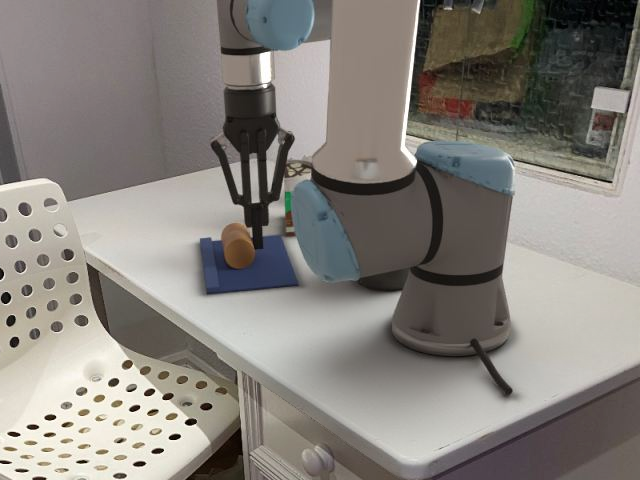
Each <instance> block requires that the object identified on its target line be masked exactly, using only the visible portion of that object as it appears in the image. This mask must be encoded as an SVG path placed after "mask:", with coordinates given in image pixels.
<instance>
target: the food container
mask: <svg viewBox="0 0 640 480" xmlns="http://www.w3.org/2000/svg"><path fill="white" fill-rule="evenodd" d="M311 164H312V162H309V161H305V160H301V159H295V158H292V159H290V158H287V162H286V168H285V173H284V178H283V193H284V220H285V223H284V224H285V237H294V236H295V237H296V234H295V230H294V226H293V221H292V213H291V197H292V192H293V191H294V187H295V186H296V185H297V184H298V183H300V182H302V180H307V179H308V180H310V179H311Z"/></svg>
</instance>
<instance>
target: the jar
mask: <svg viewBox="0 0 640 480" xmlns="http://www.w3.org/2000/svg"><path fill="white" fill-rule="evenodd" d="M408 275H409V268H405V269H400V270H395V271H390V272H386V273H381V274H376V275H371V276H366V277H362V278H359V280H358V281H359V283H360V284H361V285H362V286H364V287H366V288H368V289H372V290H374V291H375V290H376V291H385V292H387V291H388V292H389V291H390V292H391V291H399V290H403V288H404V285H405V283H406V280H407V278H408Z"/></svg>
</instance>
